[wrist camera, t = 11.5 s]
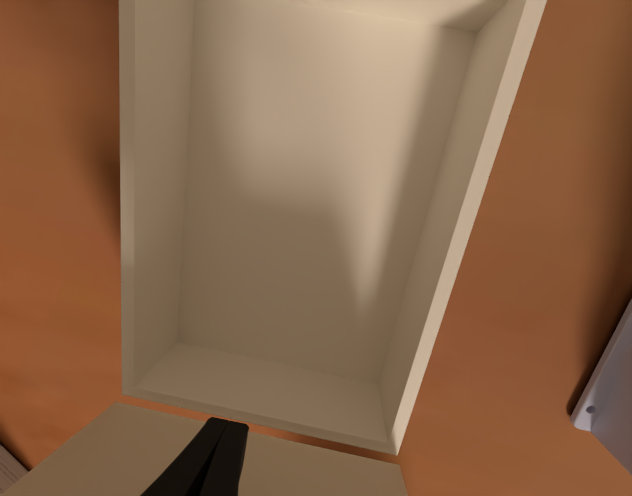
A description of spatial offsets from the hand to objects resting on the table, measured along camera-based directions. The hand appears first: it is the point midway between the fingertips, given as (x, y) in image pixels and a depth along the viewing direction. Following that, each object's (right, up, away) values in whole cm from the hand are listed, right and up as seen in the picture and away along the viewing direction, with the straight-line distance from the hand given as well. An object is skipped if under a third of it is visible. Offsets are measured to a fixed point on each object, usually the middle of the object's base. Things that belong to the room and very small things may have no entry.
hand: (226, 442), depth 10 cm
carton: (+2, +9, +6) cm, 11 cm away
